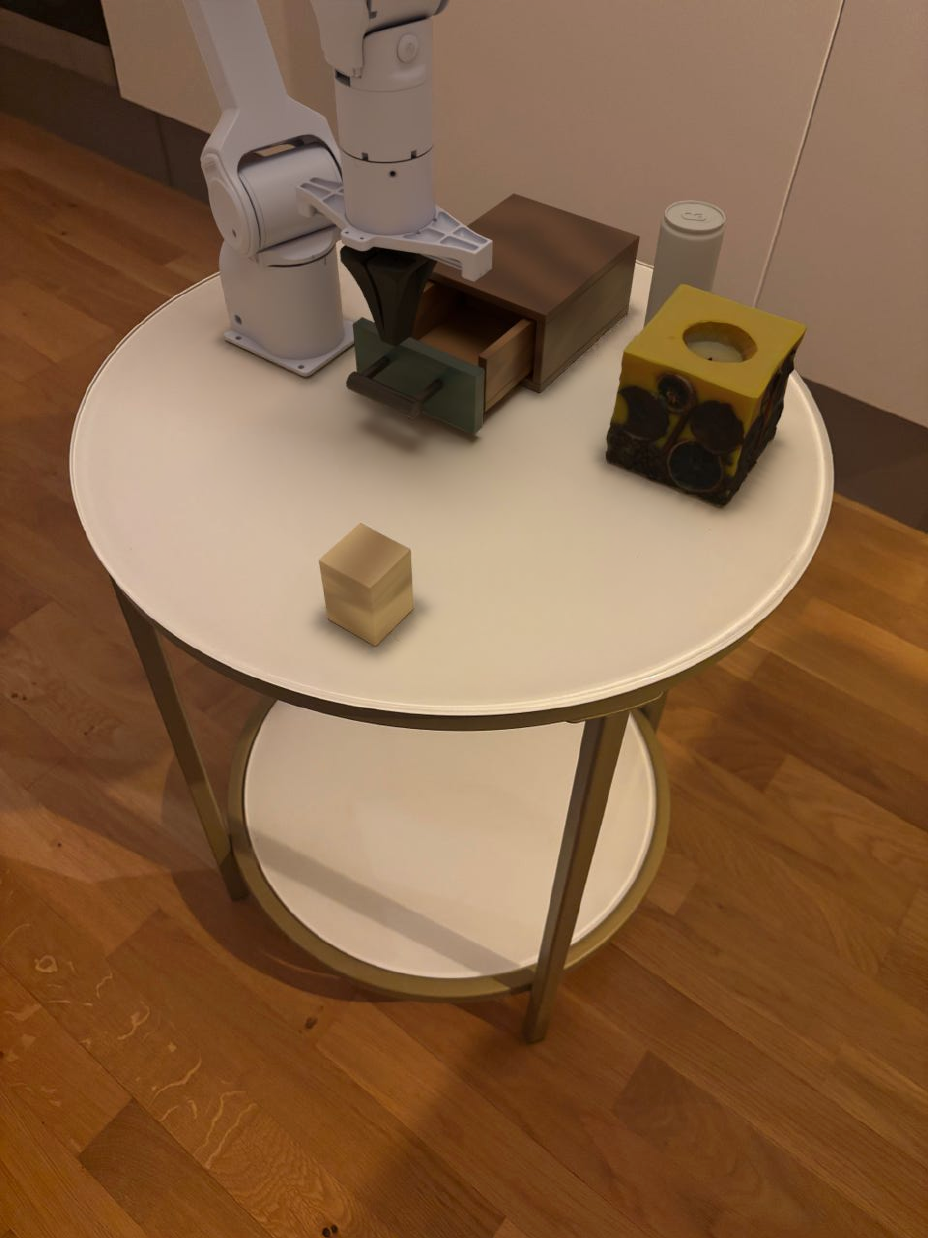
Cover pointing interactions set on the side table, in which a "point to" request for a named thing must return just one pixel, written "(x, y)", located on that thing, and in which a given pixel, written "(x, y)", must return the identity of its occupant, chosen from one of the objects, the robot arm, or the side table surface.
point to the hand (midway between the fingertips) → (396, 337)
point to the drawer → (446, 358)
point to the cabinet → (552, 278)
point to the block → (367, 583)
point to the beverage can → (685, 251)
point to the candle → (702, 393)
